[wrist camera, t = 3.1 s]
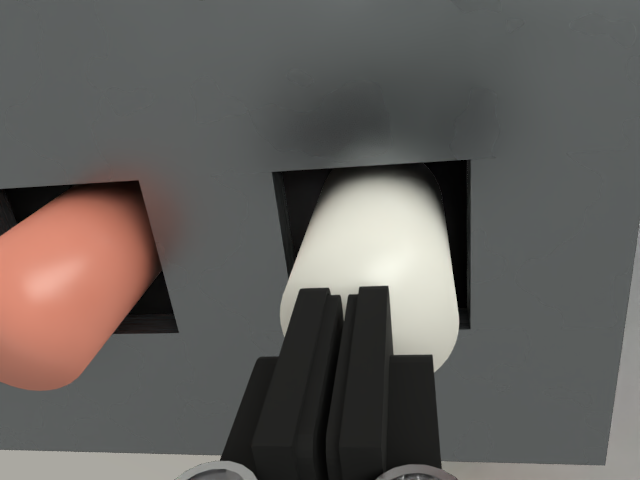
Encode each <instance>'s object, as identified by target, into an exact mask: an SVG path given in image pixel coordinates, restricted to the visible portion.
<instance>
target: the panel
mask: <svg viewBox="0 0 640 480" xmlns="http://www.w3.org/2000/svg"><path fill="white" fill-rule="evenodd" d="M452 160H467V308H458V314H459V331H458V336H457V340H456V343H455V345H454V348H453V350H452V352H451V354H450V355H449V357H448V359H447V360H446V361H445V362H444V363H443V365H442V366H441V367H440V368H439V369H438V370H437V371H436V372H434V378H435V391H436V404H437V416H438V429H439V442H440V454H441V461H459V462H497V463H536V464H574V465H605V462H606V455H607V448H608V441H609V434H610V427H611V419H612V412H613V405H614V398H615V391H616V384H617V377H618V370H619V363H620V356H621V349H622V342H623V335H624V328H625V321H626V314H627V307H628V299H629V292H630V285H631V278H632V271H633V264H634V257H635V250H636V243H637V236H638V229H639V222H640V0H0V236H1V235H3V234H4V233H6V232H7V231H8V230H10V229H11V228H13V227H14V226H16V225H17V222H16V219H15V217H14V214H13V211H12V209H11V206H10V203H9V201H8V198H7V195H6V193H5V190H4V189H6V188H22V187H38V186H54V185H70V184H86V183H102V182H117V181H133V180H139V183H140V187H141V191H142V195H143V198H144V202H145V206H146V210H147V213H148V217H149V221H150V225H151V229H152V232H153V236H154V240H155V244H156V247H157V251H158V255H159V259H160V263H161V266H162V270H163V274H164V278H165V281H166V285H167V289H168V293H169V297H170V300H171V304H172V308H173V312H174V314H138V315H127V316H126V317H125V318H124V320H123V321H122V322H121V323H120V325H119V326H118V327H117V329H116V330H115V331H114V332H113V334H112V335H111V336H110V338H109V339H108V340H107V341H106V343H105V344H104V345H103V347H102V348H101V349H100V350H99V352H98V353H97V354H96V356H95V357H94V358H93V359H92V361H91V362H90V363H89V365H88V366H87V367H86V368H85V370H84V371H83V372H82V374H81V375H80V376H79V377H78V378H77V379H75V380H74V381H73V382H71V383H70V384H68V385H66V386H64V387H61V388H58V389H53V390H46V391H35V390H26V389H21V388H17V387H13V386H10V385H7V384H5V383H2V382H0V450H36V451H37V450H38V451H74V452H112V453H152V454H154V453H155V454H189V455H222V453H223V450H224V448H225V445H226V442H227V439H228V437H229V434H230V431H231V428H232V426H233V423H234V420H235V417H236V415H237V412H238V409H239V406H240V404H241V401H242V398H243V395H244V392H245V390H246V387H247V384H248V381H249V379H250V376H251V373H252V370H253V368H254V365H255V363H256V361H257V359H258V358H259V357H270V356H279V354H280V351H281V348H282V344H283V341H284V338H285V337H284V335H283V331H282V327H281V321H280V305H281V301H282V296H283V293H284V291H285V288H286V285H287V283H288V280H289V277H290V274H291V272H292V269H293V266H294V263H295V256H294V249H293V243H292V236H291V229H290V222H289V216H288V209H287V202H286V196H285V189H284V182H283V175H282V171H293V170H309V169H325V168H341V167H357V166H373V165H389V164H405V163H420V162H436V161H452Z"/></svg>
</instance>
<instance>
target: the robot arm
mask: <svg viewBox="0 0 640 480" xmlns="http://www.w3.org/2000/svg"><path fill="white" fill-rule="evenodd" d="M175 480H458V479H457V478H456V477H454V476H453V475H451V474H449V473H447V472H446V471H444V470H442V467H441V454H440V442H439V429H438V416H437V404H436V391H435V378H434V366H433V355H432V354H431V355H394V353H393V339H392V324H391V310H390V296H389V287H388V286H360V287H359V292H358V294H349V295H348V299H347V306H346V312H345V318H343V309H342V300H341V296H340V295H331V292H330V289H329V288H301V289H300V290H299V292H298V296H297V299H296V302H295V305H294V309H293V312H292V315H291V318H290V322H289V325H288V328H287V331H286V335H285V338H284V341H283V344H282V348H281V351H280V354H279V356H270V357H259V358H258V359H257V361H256V363H255V365H254V368H253V370H252V373H251V376H250V379H249V381H248V384H247V387H246V390H245V392H244V395H243V398H242V401H241V404H240V406H239V409H238V412H237V415H236V417H235V420H234V423H233V426H232V428H231V431H230V434H229V437H228V439H227V442H226V445H225V448H224V450H223V453H222V456H221V459H220V461H213V462H208V463H204V464H200V465H198V466H196V467H194V468H192V469H189V470H187V471H186V472H184V473H183V474H181V475H180V476H179V477H177V478H176V479H175Z"/></svg>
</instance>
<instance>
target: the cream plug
mask: <svg viewBox="0 0 640 480" xmlns="http://www.w3.org/2000/svg"><path fill="white" fill-rule="evenodd" d="M360 286H388V287H389V296H390V310H391V324H392V339H393V353H394V355H431V354H432V355H433V366H434V372H436V371H437V370H438V369H439V368H440V367H441V366H442V365H443V363H444V362H445V361H446V360H447V359H448V357H449V355H450V354H451V352H452V350H453V348H454V345H455V343H456V340H457V336H458V331H459V314H458V306H457V299H456V292H455V285H454V277H453V270H452V263H451V256H450V249H449V241H448V234H447V227H446V220H445V213H444V205H443V198H442V193H441V189H440V186H439V184H438V181H437V180H436V178H435V176H434V174H433V173H432V172H431V171H430V169H429V168H428V167H427V166H426V165H425V164H424V163H423V162H420V163H405V164H389V165H373V166H357V167H341V168H333V169H332V171H331V172H330V173H329V175H328V177H327V178H326V180H325V182H324V185H323V187H322V190H321V193H320V196H319V198H318V201H317V204H316V206H315V209H314V212H313V215H312V217H311V220H310V223H309V225H308V228H307V231H306V234H305V236H304V239H303V242H302V244H301V247H300V250H299V253H298V255H297V258H296V261H295V263H294V266H293V269H292V272H291V274H290V277H289V280H288V283H287V285H286V288H285V291H284V293H283V296H282V301H281V305H280V321H281V327H282V331H283V335H284V337H285V335H286V331H287V328H288V325H289V322H290V318H291V315H292V312H293V309H294V305H295V302H296V299H297V296H298V292H299V290H300V289H301V288H329V289H330V292H331V295H340V296H341V300H342V309H343V318H345V312H346V306H347V299H348V295H349V294H358V292H359V287H360Z"/></svg>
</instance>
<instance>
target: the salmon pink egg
mask: <svg viewBox="0 0 640 480" xmlns="http://www.w3.org/2000/svg"><path fill="white" fill-rule="evenodd" d="M161 271H162V266H161V263H160V259H159V255H158V251H157V247H156V244H155V240H154V236H153V232H152V229H151V225H150V221H149V217H148V213H147V210H146V206H145V202H144V198H143V195H142V191H141V187H140V183H139V180H133V181H117V182H102V183H86V184H75V185H74V186H72V187H71V188H69V189H68V190H66V191H65V192H63V193H62V194H61V195H59V196H58V197H56V198H55V199H53V200H52V201H50V202H49V203H48V204H46V205H45V206H43V207H42V208H40V209H39V210H37V211H36V212H34V213H33V214H32V215H30V216H29V217H27V218H26V219H24V220H23V221H21V222H20V223H19V224H17V225H16V226H14V227H13V228H11V229H10V230H8V231H7V232H6V233H4V234H3V235H1V236H0V382H2V383H5V384H7V385H10V386H13V387H17V388H21V389H26V390H35V391H46V390H53V389H58V388H61V387H64V386H66V385H68V384H70V383H71V382H73V381H74V380H75V379H77V378H78V377H79V376H80V375H81V374H82V372H83V371H84V370H85V368H86V367H87V366H88V365H89V363H90V362H91V361H92V359H93V358H94V357H95V356H96V354H97V353H98V352H99V350H100V349H101V348H102V347H103V345H104V344H105V343H106V341H107V340H108V339H109V338H110V336H111V335H112V334H113V332H114V331H115V330H116V329H117V327H118V326H119V325H120V323H121V322H122V321H123V320H124V318H125V317H126V316H127V314H128V313H129V312H130V311H131V309H132V308H133V307H134V306H135V304H136V303H137V302H138V300H139V299H140V298H141V297H142V295H143V294H144V293H145V291H146V290H147V289H148V288H149V286H150V285H151V284H152V282H153V281H154V280H155V279H156V277H157V276H158V275H159V273H160V272H161Z"/></svg>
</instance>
